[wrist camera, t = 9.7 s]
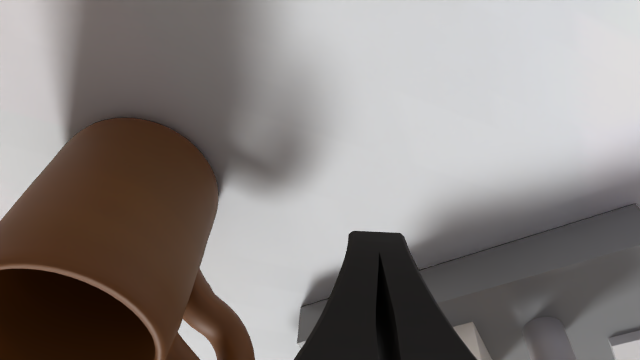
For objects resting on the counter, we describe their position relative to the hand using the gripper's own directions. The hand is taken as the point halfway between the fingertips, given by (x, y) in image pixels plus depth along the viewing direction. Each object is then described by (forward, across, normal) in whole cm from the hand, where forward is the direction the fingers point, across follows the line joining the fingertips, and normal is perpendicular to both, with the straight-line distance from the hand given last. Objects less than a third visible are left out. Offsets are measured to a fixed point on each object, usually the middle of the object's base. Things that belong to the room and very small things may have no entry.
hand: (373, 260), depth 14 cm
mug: (+11, +9, +7) cm, 15 cm away
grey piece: (+10, -8, +14) cm, 19 cm away
